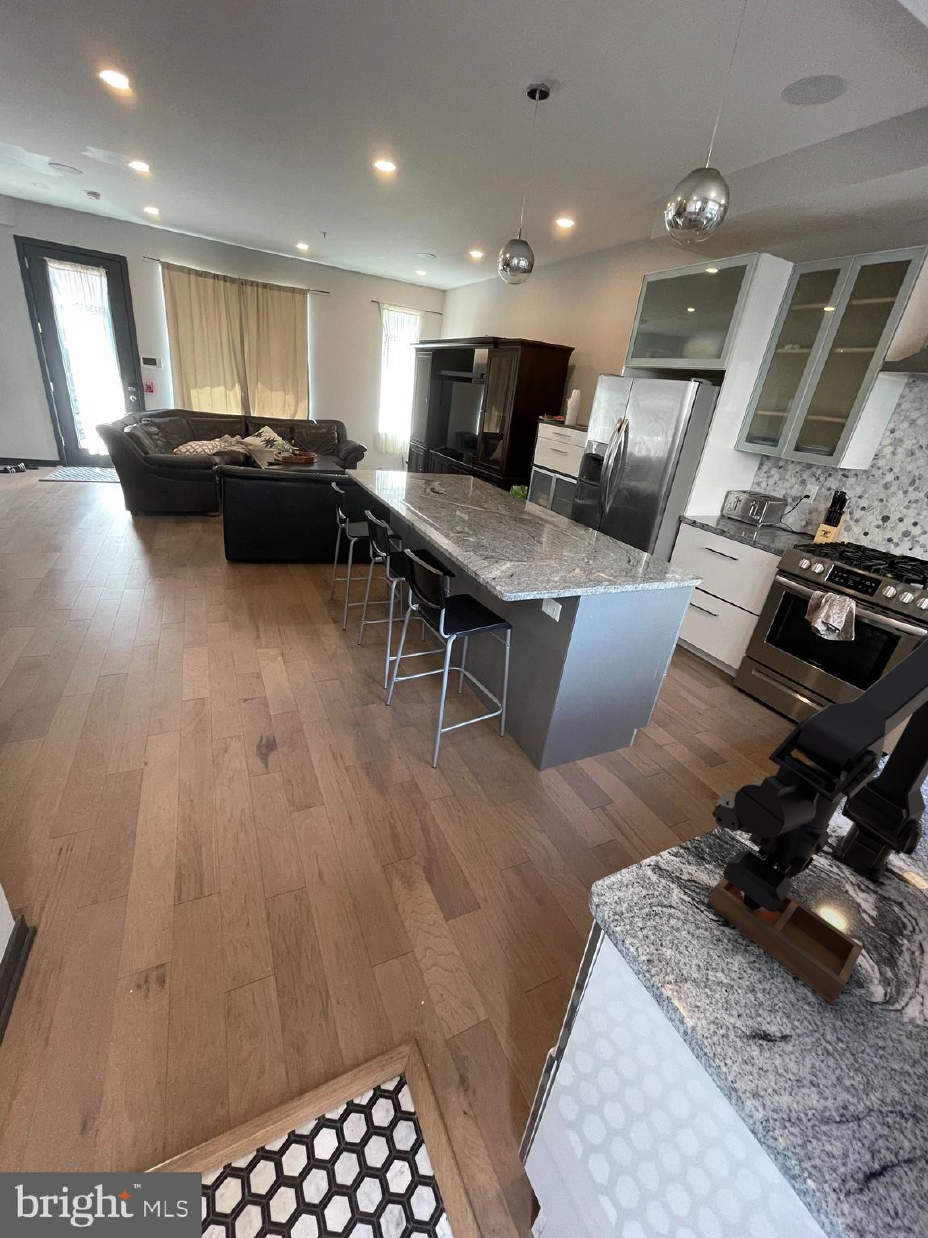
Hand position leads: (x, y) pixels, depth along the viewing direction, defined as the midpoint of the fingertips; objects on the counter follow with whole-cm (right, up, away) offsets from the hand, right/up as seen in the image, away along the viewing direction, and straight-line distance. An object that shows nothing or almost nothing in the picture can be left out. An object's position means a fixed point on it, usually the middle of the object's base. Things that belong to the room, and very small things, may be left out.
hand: (755, 899), depth 68 cm
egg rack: (+2, -4, -1) cm, 4 cm away
